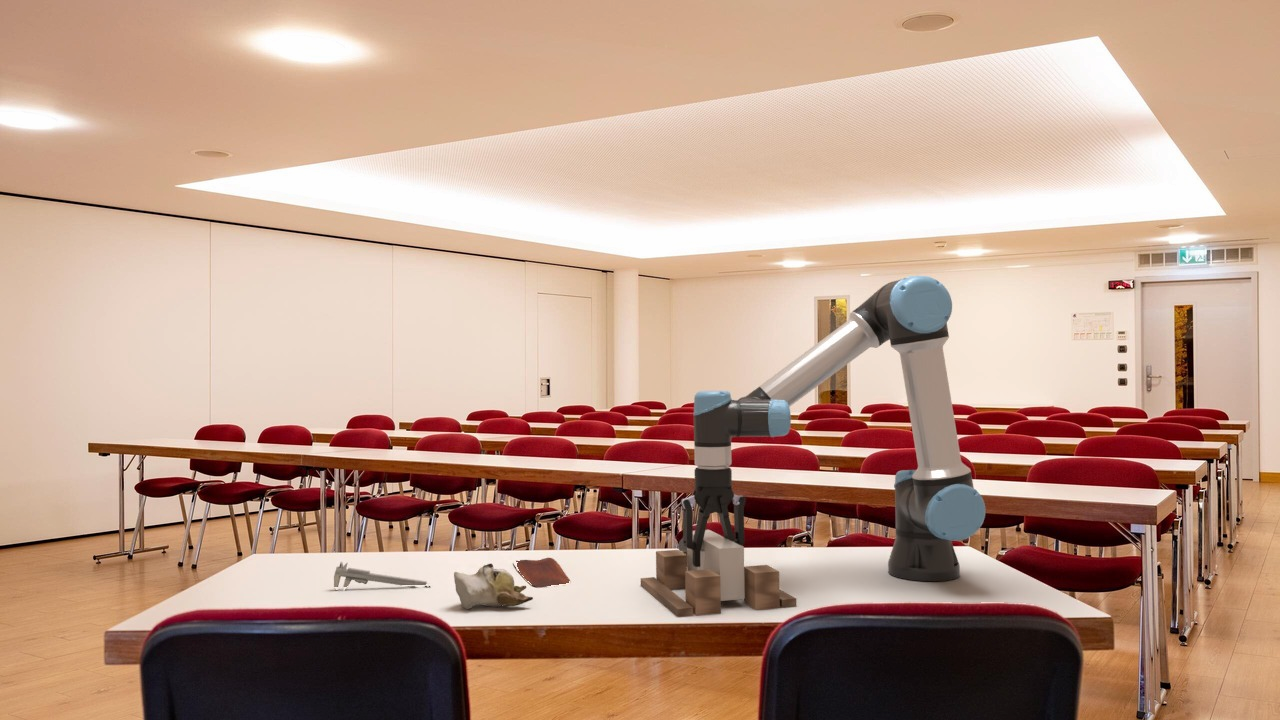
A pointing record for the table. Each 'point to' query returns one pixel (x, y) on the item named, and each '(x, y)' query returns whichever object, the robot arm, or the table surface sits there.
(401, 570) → the table surface
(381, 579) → the caliper
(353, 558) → the table surface
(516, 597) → the ceramic sculpture
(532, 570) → the wooden tablet
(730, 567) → the light grey rectangular block
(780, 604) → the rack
